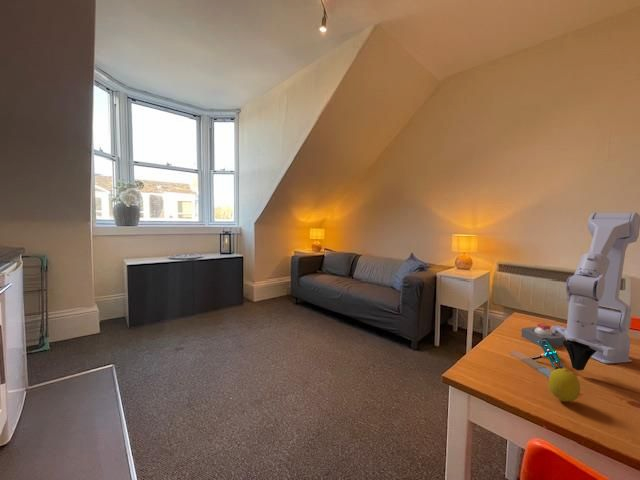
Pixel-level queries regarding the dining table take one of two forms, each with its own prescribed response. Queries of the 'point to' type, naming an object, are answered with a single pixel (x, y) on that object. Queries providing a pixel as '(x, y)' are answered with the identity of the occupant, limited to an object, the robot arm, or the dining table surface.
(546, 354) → the stick construction toy
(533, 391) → the dining table surface
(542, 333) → the dome button
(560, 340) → the dome housing
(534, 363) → the track tiles
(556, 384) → the lemon
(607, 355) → the robot arm
